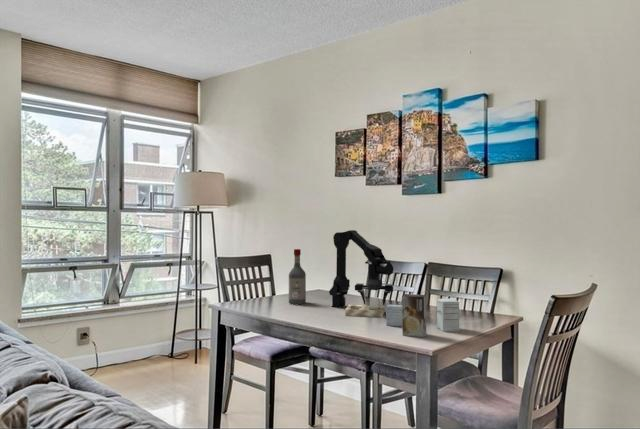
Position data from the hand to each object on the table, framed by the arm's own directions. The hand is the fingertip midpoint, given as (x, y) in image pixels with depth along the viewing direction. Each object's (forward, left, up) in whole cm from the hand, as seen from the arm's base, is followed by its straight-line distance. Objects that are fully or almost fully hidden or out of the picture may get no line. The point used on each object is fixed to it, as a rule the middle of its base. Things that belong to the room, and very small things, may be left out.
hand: (374, 304), depth 237 cm
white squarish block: (0, 0, -4) cm, 5 cm away
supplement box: (+34, -27, -5) cm, 43 cm away
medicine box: (+12, -23, -5) cm, 26 cm away
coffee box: (+20, -39, -5) cm, 44 cm away
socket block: (-4, 0, -4) cm, 6 cm away
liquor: (-44, +22, -5) cm, 50 cm away
